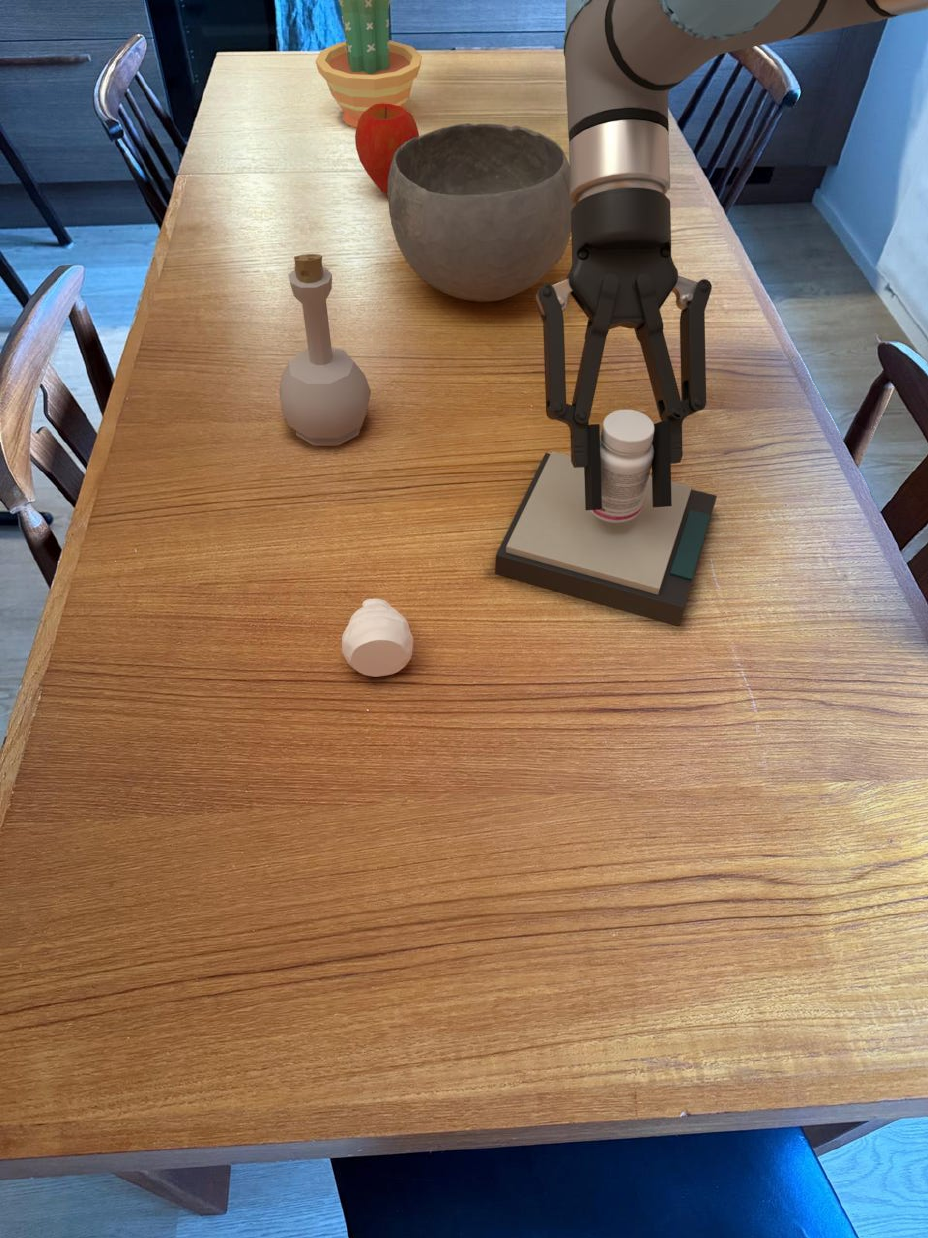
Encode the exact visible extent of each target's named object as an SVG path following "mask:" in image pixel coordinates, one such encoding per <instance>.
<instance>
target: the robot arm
mask: <svg viewBox="0 0 928 1238" xmlns="http://www.w3.org/2000/svg"><path fill="white" fill-rule="evenodd" d="M565 2H566V3H565V29H564V34H563V43H562V46H563V56H564V69H565V90H566V93H565V94H566V112H567V134H568V135H567V136H568V151H569V155H568V157H569V160H568V162H569V166H570V198H571V200H572V202H573V203H574V204H575V206H574V208H573V209H572V210H571V235H570V238H571V267H570V269H569V272H568V274H567V276H566V279H564V280H562V281H558V282H557V283H554V284H551V283H550V284H549V283H544V284H543V285H540V288H539V289H538V290H537V292H536V294H535V297H534V303H535V306H536V309H537V311H538V314H539V317H540V319H541V321H542V322H541V323H542V330H543V332H542V333H543V363H544V391H545V392H544V393H545V414H546V417H547V418H548V419H550V420H551V421H558V422H561V423H564V424H566V425H567V426H568V429H569V435H570V437H569V439H570V456H571V462H572V465H573V467H574V468H583V467H584V477H585V510H600V509H602V492H601V457H600V435H601V426H600V424H601V423H590V419H591V414H592V408H593V403H594V400H595V399H594V398H595V395H596V389H597V385H598V380H599V374H600V370H601V365H602V360H603V357H604V351H605V345H606V341H607V337H608V335H609V331H610V330H612V329H615V328H619V327H621V328H625V329H634V333H635V337H636V339H637V341H638V342H639V344H640V348H641V351H642V355H643V359H644V364H645V368H646V371H647V375H648V378H649V382H650V386H651V389H652V393H653V397H654V401H655V404H656V405H655V406H656V408H657V412H658V416H659V419H660V421H658V422H656V423H653V424H654V435H653V441H652V445H653V448H654V457H653V461H652V465H651V476H652V500H653V507H667V506H672V500H671V481H672V465H675V464H680V463H681V461H682V458H683V455H684V454H683V423H684V419H686V418H687V417H688V416H692V415H693V414H695V413H698V412H700V411H703V410H704V409H705V408H706V406H707V367H706V365H707V364H706V363H707V362H706V319H705V318H706V313H705V311H706V308H707V305H708V302H709V299H710V296H711V293H712V291H713V290H712V288H713V285H712V283H711V281H710V280H708V279H705V278H703V279H700V280H699V281H695V280H692V279H689V278H687V277H683V276H681V275H679V272H678V268H677V266H676V265H675V263H674V261H673V257H672V217H671V214H672V213H671V200H670V198H668V196H667V195H666V194H668V192H669V190H670V189H671V169H670V141H669V140H670V139H669V135H670V125H669V124H670V123H669V93H670V90H672V89H673V88H675V87H677V86H678V85H679V84H681V83H682V82H683V81H685V80H687V78H689V77H690V76H691V75H692V74H694V73H695V72H696V71H697V70H699V69H700V68H701V67H702V66H704V65H706V63H708V62H710V60H712V59H714V58H716V57H718V56H720V55H723V54H727V53H731V52H736V51H741V50H746V49H751V48H755V47H759V46H764V45H767V44H768V45H769V44H772V43H773V44H774V43H777V42H781V41H786V40H791V39H794V38H796V37H802V36H807V35H812V34H813V35H814V34H818V33H822V32H828V31H833V30H838V29H843V28H849V27H857V26H862V25H868V24H874V23H876V22H880V21H882V20H887V19H893V18H896V17H898V16H902V15H908V14H912V13H919V12H924V11H928V0H566V1H565ZM671 293H673V294H674V295H675V298H676V299H675V305H676V307H677V308H678V309H679V310H681V311H680V317H679V347H680V348H679V349H680V350H679V351H680V353H679V354H680V356H679V357H680V391H679V387H678V383H677V380H676V375H675V372H674V368H673V365H672V361H671V357H670V353H669V349H668V345H667V342H666V338H665V333H664V321H663V317H662V313H661V308H662V306H663V305H664V303H665V302H666V301H667V299H668V298H669V296H670V294H671ZM569 296H571V297H572V299H573V300H574V301H575V302H576V303H577V305H578V306H579V308H580V309H581V311H583V313H584V314H585V315H586V317H587V324H586V328H585V333H584V343H583V347H582V351H581V352H582V353H581V358H580V362H579V367H578V372H577V376H576V382H575V386H574V391H573V396H572V402H571V404H569V403H567V381H566V379H567V378H566V354H565V353H566V351H565V350H566V349H565V320H564V319H565V318H564V312H565V310H566V309H567V308H568V305H569V302H568V297H569Z"/></svg>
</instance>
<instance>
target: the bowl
mask: <svg viewBox="0 0 928 1238" xmlns="http://www.w3.org/2000/svg"><path fill="white" fill-rule="evenodd" d="M386 196H387V204H388V213H389V217H390V223H391V227H392V231H393V234H394V237H395V240H396V243H397V245H398V248H399V250H400V252H401V254H402V256H403V258H404V259H405V262H407V264H408V265H409V266H410V268H411V269H412V270H413V271H414V272H415V273H416V274H417V275H418V276H419V277H420V279H422V280H423V281H425V282H426V283H427V284H428V285H430V286H431V287H433V288H434V289H435V290H437V291H439V292H441V293H443V294H446V295H448V296H451V297H453V298H455V299H456V298H457V299H459V300H465V301H470V302H477V303H488V302H497V301H500V300H506V299H509V298H510V297H513V296H515V295H517V294H520V293H522V292H524V291H526V290H528V289H530V288H531V287H532V286H534V285H535V284H538V283H539V282H540V281H541V280H542V279H543V278H544V277H545V276H546V275H547V274H548V273H550V271H551V270H552V268H554V266H556V265H557V264H558V263H559V261H561V259H562V258H563V255H564V254H565V252H566V250H567V247H568V244H569V242H570V238H571V210H572V209H573V208H574V206H575V204H574V203H573V202H572V200H571V198H570V161H569V160H568V158H567V156H566V153H565V151H564V150H563V148H562V147H561V146H560V144H558V143H557V142H556V141H555V140H553V139H552V138H551V137H548V136H546V135H545V134H543V133H541V132H539V131H535V130H533V129H529V128H527V127H525V126H524V127H523V126H520V125H513V126H509V125H505V124H498V123H497V124H495V123H478V124H473V123H467V122H466V123H460V124H459V123H458V124H454V125H450V126H449V125H448V126H445V127H440V128H438V129H436V130H435V129H434V130H432V131H430V132H427V133H424V134H422V135H419V137H414V138H412V139H410V140H408V141H406V142H405V143H404V145H401V147H400V148H398V149H397V151H396V152H395V154H394V157H393V160H392V163H391V167H390V171H389V177H388V192H387V194H386Z"/></svg>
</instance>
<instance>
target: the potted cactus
mask: <svg viewBox="0 0 928 1238" xmlns="http://www.w3.org/2000/svg"><path fill="white" fill-rule="evenodd" d="M337 1H338V4H339V6H340V7H339V8H340V14H341V19H342V27H343V35H344V41H343V42H337V43H335V44H333V45H331V46H328V47H326V48H324V49H322V50H320V51H319V53H318V55H317V57H316V59H315V66H316V68H317V72H318V74H320V76H321V77H322V78H323V79H324V81H325V82H326V84H327V87H328V89H329V92H330V94H331V96H332V97H333V99H334V101H335V102H336V103H337V104H338V105H339V107H340V108H341V110H342V111H343V113H342V120H343V121H344V122H345V124H346V125H348V126H350V127H352V128H357V124H358V120H359V119H360V117H361V115H362V113H363V112H365V111H366V110H367V109H369V108H370V107H372V106H373V105H375V104H381V103H383V104H392V105H397V106H400V107H403V108H404V106H405V105H406V102H407V101H408V99H409V96H410V93H411V90H412V86H413V83H414V79H416V78H418V76H419V73H420V70H421V66H422V59H423V55H422V54H421V53H420V52H419V51H418V50H417V49H415V48H414V47H413V46H412V45H409V44H404V43H402V42H399V41H398V42H397V41H394V40H391V39H390V13H389V12H390V6H391V2H392V0H337Z"/></svg>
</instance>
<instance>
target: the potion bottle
mask: <svg viewBox="0 0 928 1238" xmlns="http://www.w3.org/2000/svg"><path fill="white" fill-rule="evenodd" d="M293 259H294V260H293V261H294V267H293V268H294V269H293V270H292V271H291V272H289V273H288V281H289V285H290V288H291V291H292V294H293V297H294V298H295V299H297V300H298V302H299V303H300V304H301V307H302V314H303V320H304V321H303V322H304V327H305V329H304V330H305V335H306V343H307V349H302V350H301V351H300V352H298V353H297V354H296V355H295V356H294V357H293V358H291V359H290V360H289V361H288V363H287V365H286V366H285V368H284V370H283V372H282V373H281V375H280V384H279V401H280V408H281V409H280V410H281V413H282V415H283V417H284V419H285V421H286V423H287V425H288V427H289V428H291V429H293V430H295V435H296V436H297V437H298V438H299V439H301V440H304V441H305V442H306V443H308V444H310V445H312V446H315V447H316V446H317V447H320V446H322V447H323V446H324V447H325V446H326V447H329V446H332V447H335V446H336V447H337V446H341V445H343V444H344V443H347V442H348V441H351V440H353V439H354V438H356V437H358V436H359V434H360V432H361V428H362V426H363V424H364V421H365V418H366V416H367V412H368V409H369V404H370V399H371V394H372V390H371V387H370V385H369V382H368V380H367V376H366V374H365V373H364V372H363V371H362V369H361V368H360V367H359V365H357V363H356V362H355V361H354V360H353V359H352V358H351V356H350V355H349V354H348V352H346V351H345V350H344V349H340V348H336V347H332V340H331V339H332V338H331V332H330V323H329V315H328V307H327V305H328V304H327V299H328V297H329V296H330V293H331V291H332V288H333V287H332V286H333V273H332V272H331V271H329V269H328V268H327V267H325V266H323V256H322V255H321V254H318V253H317V254H316V253H306V254H299V255H296V256H293Z"/></svg>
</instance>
